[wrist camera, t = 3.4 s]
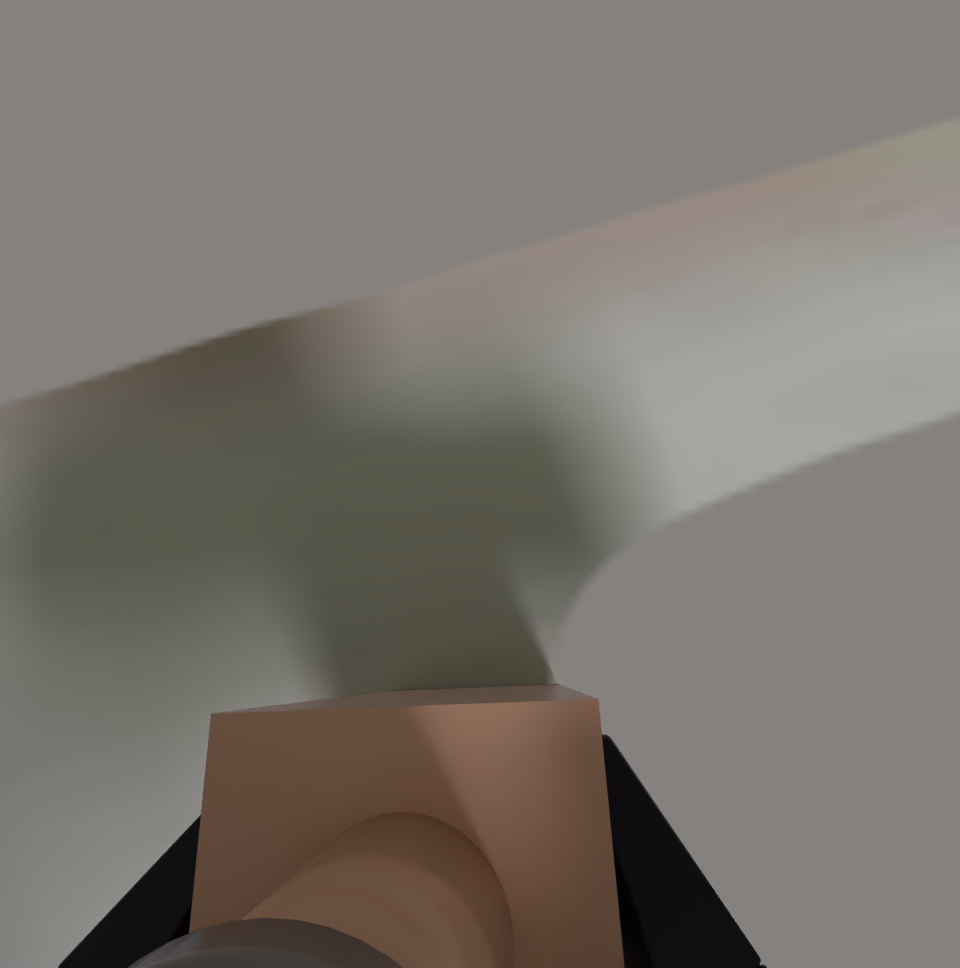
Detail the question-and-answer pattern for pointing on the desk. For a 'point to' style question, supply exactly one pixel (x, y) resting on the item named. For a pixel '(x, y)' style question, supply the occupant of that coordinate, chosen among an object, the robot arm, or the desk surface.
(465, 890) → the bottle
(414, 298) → the desk surface
